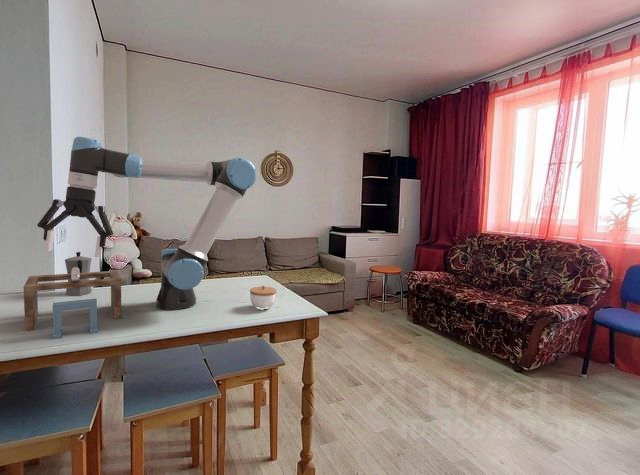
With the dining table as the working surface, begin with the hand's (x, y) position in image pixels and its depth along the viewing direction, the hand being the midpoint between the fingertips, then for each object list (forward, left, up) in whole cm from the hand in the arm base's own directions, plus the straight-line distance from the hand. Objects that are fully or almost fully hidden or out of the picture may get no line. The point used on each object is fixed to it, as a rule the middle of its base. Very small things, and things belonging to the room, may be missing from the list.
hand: (73, 254), depth 109 cm
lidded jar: (-55, -33, -24) cm, 68 cm away
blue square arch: (-4, +4, -24) cm, 25 cm away
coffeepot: (+25, -35, -24) cm, 50 cm away
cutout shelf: (+6, -9, -24) cm, 26 cm away
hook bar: (+6, -9, -10) cm, 15 cm away
